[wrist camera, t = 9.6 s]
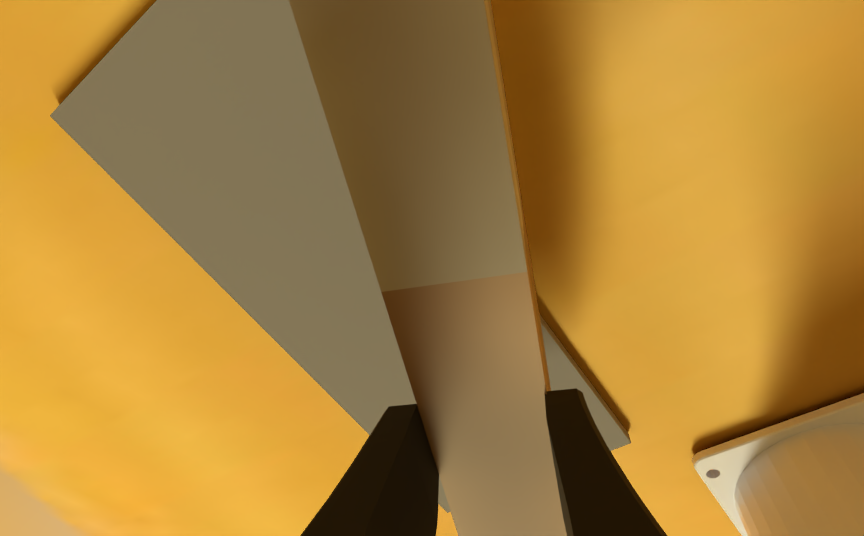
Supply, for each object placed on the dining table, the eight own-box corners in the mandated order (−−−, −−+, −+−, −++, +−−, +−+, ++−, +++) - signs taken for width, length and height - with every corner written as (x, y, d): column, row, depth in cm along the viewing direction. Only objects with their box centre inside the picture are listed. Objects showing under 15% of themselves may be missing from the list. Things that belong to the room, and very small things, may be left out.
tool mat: (628, 433, 22) (631, 442, 21) (448, 503, 25) (447, 512, 25) (243, -84, 14) (235, -86, 14) (60, 112, 18) (49, 115, 17)
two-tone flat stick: (479, -72, 10) (470, -87, 6) (567, 498, 17) (584, 633, 14) (351, -38, 10) (278, -33, 7) (491, 502, 18) (489, 633, 14)
